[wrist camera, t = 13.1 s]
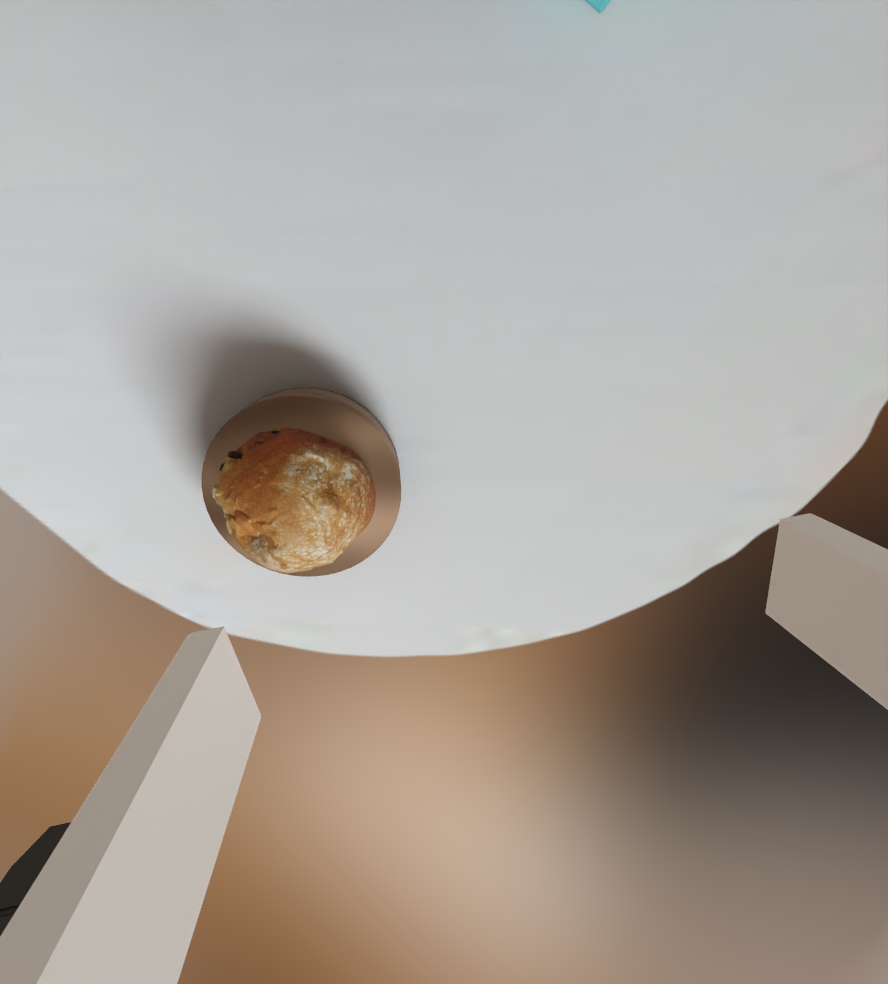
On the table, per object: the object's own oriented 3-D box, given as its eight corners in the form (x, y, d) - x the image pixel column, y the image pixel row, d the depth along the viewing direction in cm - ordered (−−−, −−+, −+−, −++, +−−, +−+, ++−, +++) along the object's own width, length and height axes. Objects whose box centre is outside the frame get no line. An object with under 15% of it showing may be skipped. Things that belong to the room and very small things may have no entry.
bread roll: (310, 540, 38) (336, 611, 32) (182, 502, 31) (187, 584, 25) (378, 448, 36) (418, 507, 30) (256, 386, 29) (279, 447, 23)
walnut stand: (194, 404, 33) (170, 415, 30) (381, 373, 34) (380, 380, 30) (252, 564, 39) (238, 591, 35) (413, 535, 39) (415, 558, 36)
